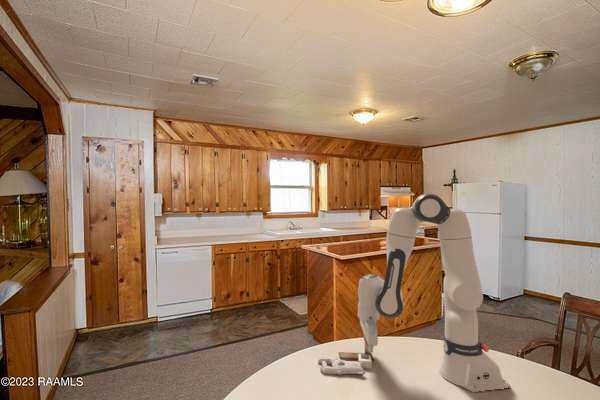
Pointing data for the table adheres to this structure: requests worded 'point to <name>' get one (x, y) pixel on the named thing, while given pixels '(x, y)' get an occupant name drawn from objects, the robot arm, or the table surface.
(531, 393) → the table surface
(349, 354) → the bar
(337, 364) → the gun
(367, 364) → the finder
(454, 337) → the robot arm
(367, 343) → the tan rounded rod
